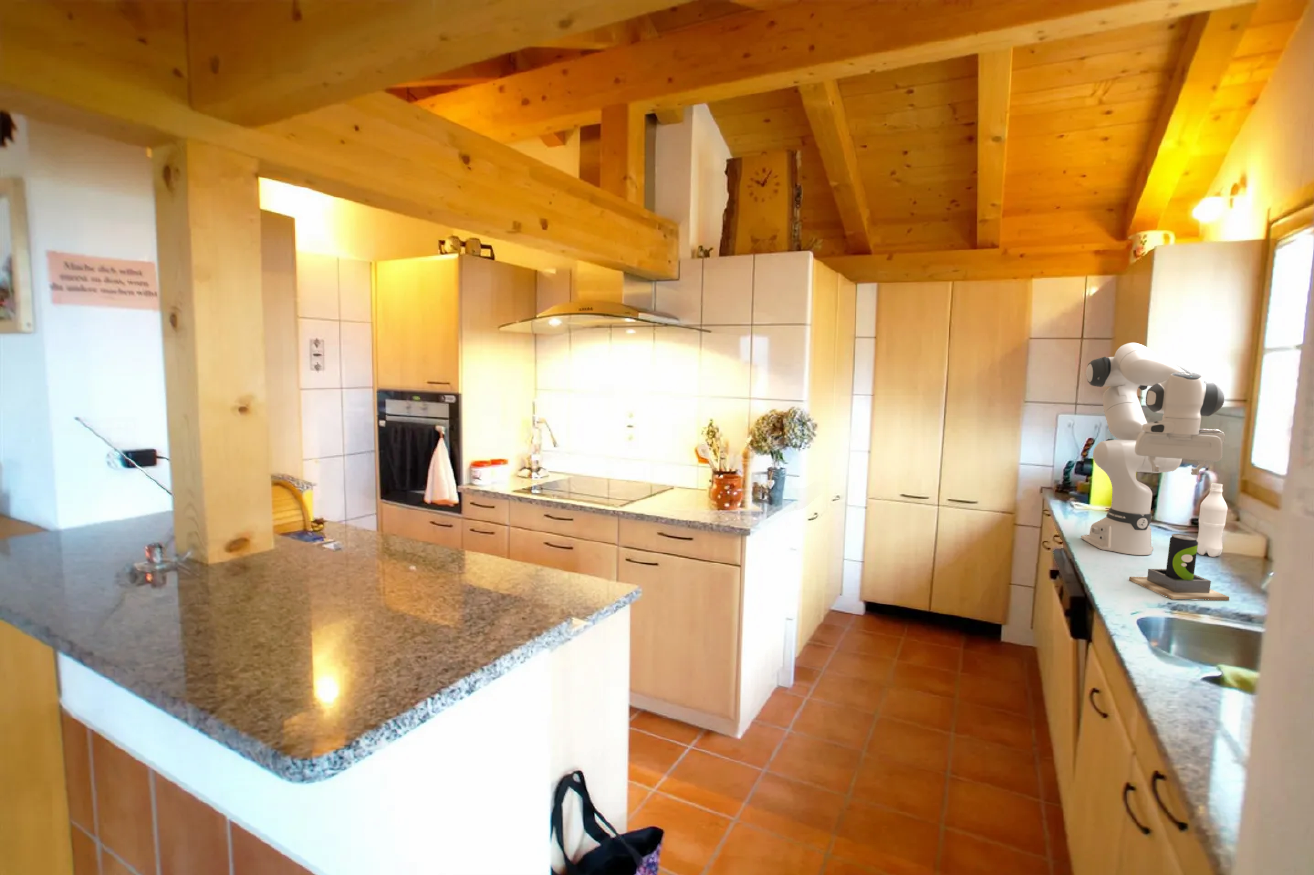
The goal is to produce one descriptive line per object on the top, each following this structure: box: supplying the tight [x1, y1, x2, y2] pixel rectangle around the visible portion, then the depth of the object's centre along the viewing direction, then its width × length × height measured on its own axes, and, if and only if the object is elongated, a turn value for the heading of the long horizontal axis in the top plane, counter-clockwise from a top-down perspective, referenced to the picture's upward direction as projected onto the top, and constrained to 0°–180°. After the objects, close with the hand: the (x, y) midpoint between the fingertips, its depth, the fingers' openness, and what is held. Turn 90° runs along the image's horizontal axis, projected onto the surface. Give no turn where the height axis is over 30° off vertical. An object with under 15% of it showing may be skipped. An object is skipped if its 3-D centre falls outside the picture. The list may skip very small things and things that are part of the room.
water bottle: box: [1196, 482, 1229, 558], centre depth 217 cm, size 7×7×25 cm
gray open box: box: [1146, 568, 1212, 593], centre depth 183 cm, size 10×10×4 cm
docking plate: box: [1128, 576, 1230, 601], centre depth 184 cm, size 16×16×1 cm
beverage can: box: [1165, 533, 1198, 580], centre depth 183 cm, size 6×6×15 cm
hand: (1174, 473), depth 189 cm, fingers open, 8 cm apart
